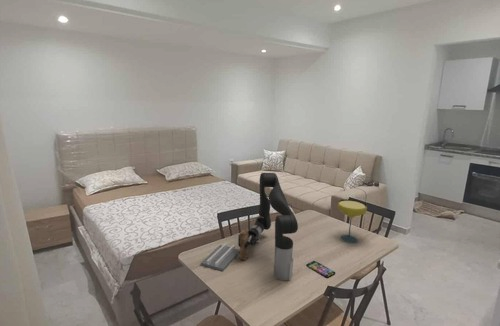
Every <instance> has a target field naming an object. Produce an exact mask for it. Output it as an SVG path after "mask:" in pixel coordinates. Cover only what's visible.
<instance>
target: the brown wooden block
mask: <svg viewBox="0 0 500 326" xmlns="http://www.w3.org/2000/svg"><path fill="white" fill-rule="evenodd" d="M248 230H249V229H248ZM248 230H247V229H243V230H241V231H240V233H239V234H240V247H239V250H240V253H239V260H243V261H246V259H247V258H248V257H249V246H248V247H246V248H244V244H245V243H246V242H248Z"/></svg>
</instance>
